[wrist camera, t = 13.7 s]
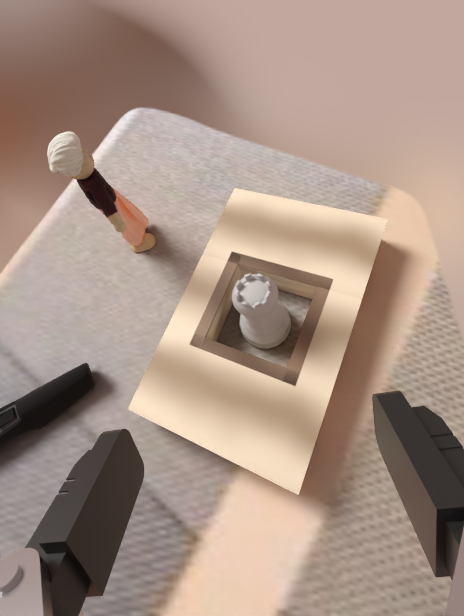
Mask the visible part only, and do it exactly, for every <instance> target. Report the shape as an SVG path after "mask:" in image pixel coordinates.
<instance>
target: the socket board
mask: <svg viewBox="0 0 464 616" xmlns="http://www.w3.org/2000/svg"><path fill="white" fill-rule="evenodd" d="M387 221H388V219H385V218H380V217H375V216H370V215H365V214H361V213H356V212H351V211H346V210H341V209H336V208H331V207H326V206H321V205H316V204H311V203H306V202H301V201H296V200H291V199H286V198H281V197H276V196H271V195H266V194H261V193H257V192H252V191H247V190H242V189H237V188H234V191H233V193H232V195H231V197H230V199H229V201H228V203H227V205H226V207H225V209H224V211H223V213H222V215H221V217H220V219H219V222H218V224H217V226H216V228H215V230H214V232H213V234H212V236H211V238H210V240H209V242H208V244H207V246H206V248H205V250H204V253H203V255H202V257H201V259H200V261H199V263H198V265H197V267H196V269H195V271H194V273H193V275H192V277H191V279H190V281H189V284H188V286H187V288H186V290H185V292H184V294H183V296H182V298H181V300H180V302H179V304H178V306H177V308H176V310H175V312H174V315H173V317H172V319H171V321H170V323H169V325H168V327H167V329H166V331H165V333H164V335H163V337H162V339H161V341H160V343H159V346H158V348H157V350H156V352H155V354H154V356H153V358H152V360H151V362H150V364H149V366H148V368H147V370H146V372H145V374H144V377H143V379H142V381H141V383H140V385H139V387H138V389H137V391H136V393H135V395H134V397H133V399H132V401H131V403H130V405H129V408H128V410H130V411H132V412H134V413H136V414H138V415H140V416H142V417H144V418H146V419H148V420H150V421H152V422H154V423H156V424H158V425H160V426H162V427H164V428H166V429H168V430H170V431H172V432H174V433H176V434H178V435H180V436H182V437H184V438H186V439H188V440H190V441H192V442H194V443H196V444H198V445H200V446H202V447H204V448H206V449H208V450H210V451H212V452H214V453H216V454H218V455H220V456H222V457H223V458H225V459H227V460H229V461H231V462H233V463H235V464H237V465H239V466H241V467H243V468H245V469H247V470H249V471H251V472H253V473H255V474H257V475H259V476H261V477H263V478H265V479H267V480H269V481H271V482H273V483H275V484H277V485H279V486H281V487H283V488H285V489H287V490H289V491H291V492H293V493H295V494H297V495H299V492H300V489H301V486H302V483H303V480H304V477H305V474H306V471H307V467H308V464H309V461H310V458H311V455H312V452H313V449H314V446H315V443H316V440H317V437H318V434H319V430H320V427H321V424H322V421H323V418H324V415H325V412H326V409H327V406H328V403H329V400H330V397H331V393H332V390H333V387H334V384H335V381H336V378H337V375H338V372H339V369H340V366H341V363H342V360H343V356H344V353H345V350H346V347H347V344H348V341H349V338H350V335H351V332H352V329H353V326H354V323H355V319H356V316H357V313H358V310H359V307H360V304H361V301H362V298H363V295H364V292H365V289H366V286H367V282H368V279H369V276H370V273H371V270H372V267H373V264H374V261H375V258H376V255H377V252H378V249H379V245H380V242H381V239H382V236H383V233H384V230H385V227H386V224H387ZM249 273H251V274H258V273H260V274H262V275H265V276H267V277H270V278H271V279H272V280H273V281H274V282H275V283H276V286H277V289H279V290H282V291H286V292H289V293H293V294H296V295H299V296H303V297H306V298H309V299H312V302H311V304H310V307H309V310H308V312H307V315H306V318H305V321H304V323H303V326H302V329H301V331H300V334H299V337H298V340H297V342H296V345H295V348H294V350H293V353H292V356H291V359H290V361H289V364H288V367H287V368H285V367H282V366H279V365H277V364H274V363H271V362H269V361H266V360H263V359H261V358H258V357H255V356H253V355H250V354H248V353H245V352H242V351H240V350H237V349H234V348H232V347H229V346H226V345H224V344H221V343H218V342H217V339H218V337H219V335H220V333H221V330H222V328H223V326H224V323H225V321H226V319H227V316H228V314H229V312H230V310H231V307H232V305H233V302H232V291H233V289H234V287H235V285H236V283H237V281H238V280H239V281H240V280H241V279H242V278H243V277H244V275H246V274H249Z"/></svg>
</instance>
